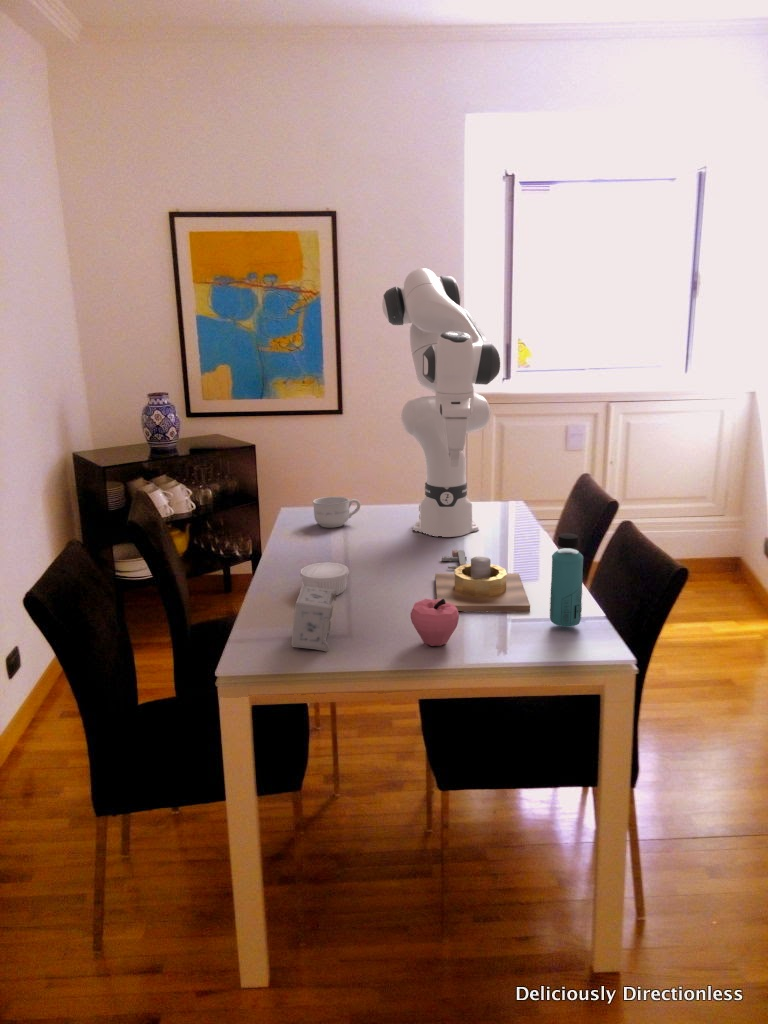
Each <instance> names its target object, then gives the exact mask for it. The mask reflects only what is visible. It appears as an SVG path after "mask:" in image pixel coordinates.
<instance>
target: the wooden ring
mask: <svg viewBox="0 0 768 1024" xmlns="http://www.w3.org/2000/svg"><path fill="white" fill-rule="evenodd" d="M458 566H459V567H458V568H456V569H454V574H455V579H454V586H455V591H456V592H458V593H460V594H462V595H464V596H469V597H474V598H490V597H494V596H499V595H501V594H503V593H504V592H505V591H506V583H507V573H508V572H507V571H506V569H505V568H503V567H502V566H500V565H497V564H493V563H490V578H473V577H471V563H466V565H461V566H460V565H458Z"/></svg>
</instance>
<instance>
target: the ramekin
mask: <svg viewBox="0 0 768 1024" xmlns="http://www.w3.org/2000/svg"><path fill="white" fill-rule="evenodd" d="M349 573H350V572H349V568H348V566H346V565H345V564H343V563H337V562H328V561H327V562H317V563H311V564H309V565H308V564H307V565H305V566H304V567H302V568H301V569H300V572H299V574H300V577H301V581H302V586H311V587H317V588H326V589H333V590H336V595H337V596H339V595H341V594H342V593H344V591H346V589H347V582H348V575H349Z"/></svg>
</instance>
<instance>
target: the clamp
mask: <svg viewBox="0 0 768 1024" xmlns="http://www.w3.org/2000/svg"><path fill="white" fill-rule="evenodd" d="M451 551H452V552H451V554H452V555H451V556H448V555H446V556H443V555H442V556H441V562H442V561H450V560H452V561H450V562H459V565H452V566H447V570H448V569H449V570H455V569H456V568H458V567H459V566H461V565H466V564H467V562H468V561H467V556H466V553H465V550H464V549H462V550H461V549H460V550H459V549H452V550H451Z"/></svg>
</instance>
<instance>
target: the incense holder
mask: <svg viewBox="0 0 768 1024" xmlns="http://www.w3.org/2000/svg"><path fill="white" fill-rule="evenodd" d="M336 598H337V596H336V590H333V589H326V588H317V587H311V586H304V585H302V586H301V588H300V591H299V594H298V596H297V599H296V602H295V605H294V613H293V614H294V616H293V625H292V635H291V641H290V642H291V647H293V648H298V649H299V648H300V649H301V648H302V649H310V650H316V651H317V650H318V651H322V652H328V651H329V643H328V642H327V637H328V635H329V634H330V633H329V631H330V629H331V618H332V617H333V604H332V603H333V602H334V601H336Z"/></svg>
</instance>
